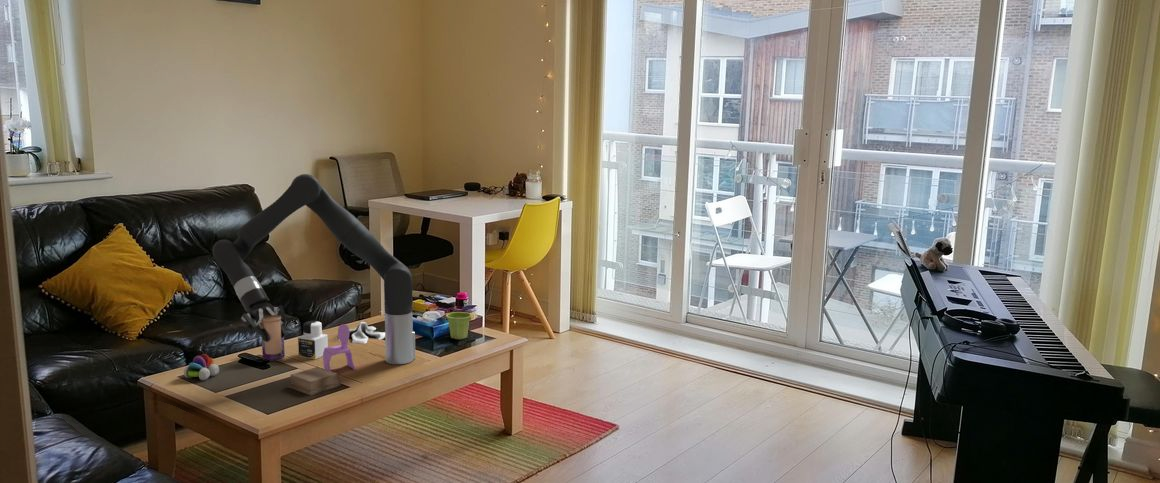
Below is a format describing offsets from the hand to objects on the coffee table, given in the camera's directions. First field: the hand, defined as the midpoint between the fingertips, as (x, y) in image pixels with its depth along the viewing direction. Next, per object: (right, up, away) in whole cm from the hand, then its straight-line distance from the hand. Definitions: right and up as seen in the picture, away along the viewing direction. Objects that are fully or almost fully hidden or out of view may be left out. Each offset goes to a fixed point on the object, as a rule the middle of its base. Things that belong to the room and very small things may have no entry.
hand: (276, 338), depth 263 cm
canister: (-2, -4, +2) cm, 5 cm away
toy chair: (+13, -13, +21) cm, 28 cm away
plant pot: (+47, -7, +60) cm, 77 cm away
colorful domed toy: (-28, -14, +12) cm, 33 cm away
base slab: (+10, -16, +5) cm, 19 cm away
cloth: (+10, -7, +59) cm, 60 cm away
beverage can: (-12, -11, +31) cm, 34 cm away
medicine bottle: (0, -10, +35) cm, 37 cm away
